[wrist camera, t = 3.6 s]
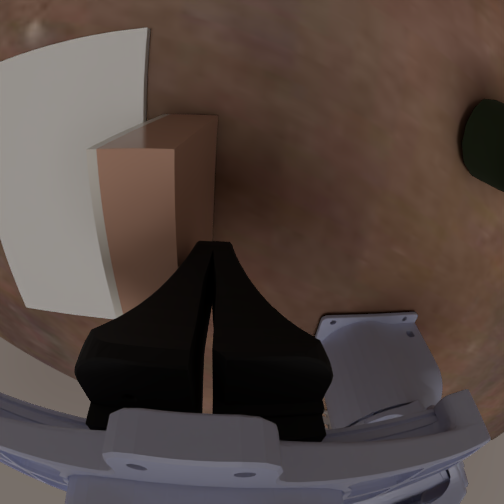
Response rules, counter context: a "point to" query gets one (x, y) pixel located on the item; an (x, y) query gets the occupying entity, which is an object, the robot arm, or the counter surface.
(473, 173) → the character mug
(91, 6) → the counter surface
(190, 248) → the tile
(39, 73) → the board
